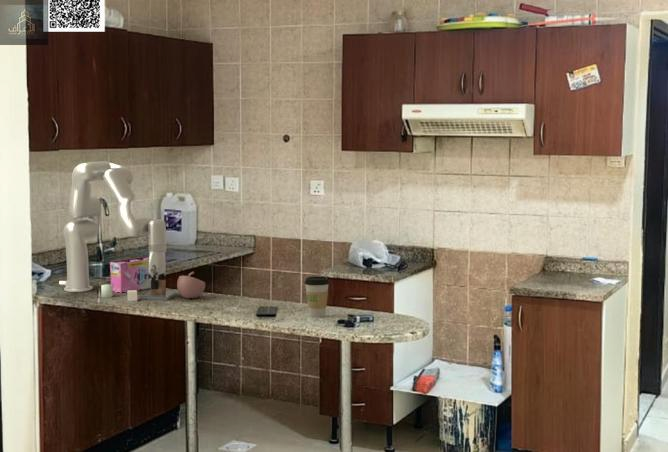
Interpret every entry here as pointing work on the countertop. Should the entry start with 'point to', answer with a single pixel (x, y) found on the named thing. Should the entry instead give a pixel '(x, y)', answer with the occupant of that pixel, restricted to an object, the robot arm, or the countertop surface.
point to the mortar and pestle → (190, 286)
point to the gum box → (130, 274)
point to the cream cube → (132, 295)
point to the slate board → (158, 296)
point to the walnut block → (160, 288)
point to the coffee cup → (317, 295)
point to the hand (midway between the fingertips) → (158, 287)
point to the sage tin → (107, 290)
